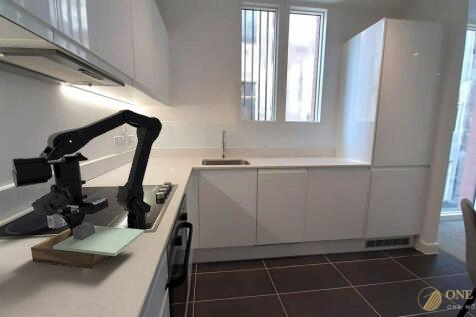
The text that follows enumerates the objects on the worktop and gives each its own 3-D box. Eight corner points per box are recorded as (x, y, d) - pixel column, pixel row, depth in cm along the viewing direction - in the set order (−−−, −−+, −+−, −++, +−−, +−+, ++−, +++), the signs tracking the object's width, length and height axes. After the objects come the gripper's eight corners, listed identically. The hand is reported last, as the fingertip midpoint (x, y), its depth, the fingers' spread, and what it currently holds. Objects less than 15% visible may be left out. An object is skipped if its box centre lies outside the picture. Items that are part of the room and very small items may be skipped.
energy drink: (65, 221, 83) (61, 190, 82) (69, 225, 80) (65, 193, 78) (47, 226, 79) (42, 194, 78) (50, 230, 76) (45, 197, 74)
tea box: (73, 238, 70) (72, 226, 70) (124, 243, 67) (122, 231, 67) (32, 261, 59) (30, 247, 58) (91, 269, 55) (89, 254, 55)
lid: (91, 227, 68) (90, 216, 68) (144, 232, 65) (143, 220, 65) (53, 249, 57) (51, 235, 56) (115, 256, 54) (113, 241, 53)
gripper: (5, 185, 54) (16, 244, 56) (69, 189, 50) (77, 252, 53) (51, 175, 65) (58, 225, 67) (107, 177, 61) (112, 230, 64)
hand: (75, 232), depth 62 cm, fingers closed
